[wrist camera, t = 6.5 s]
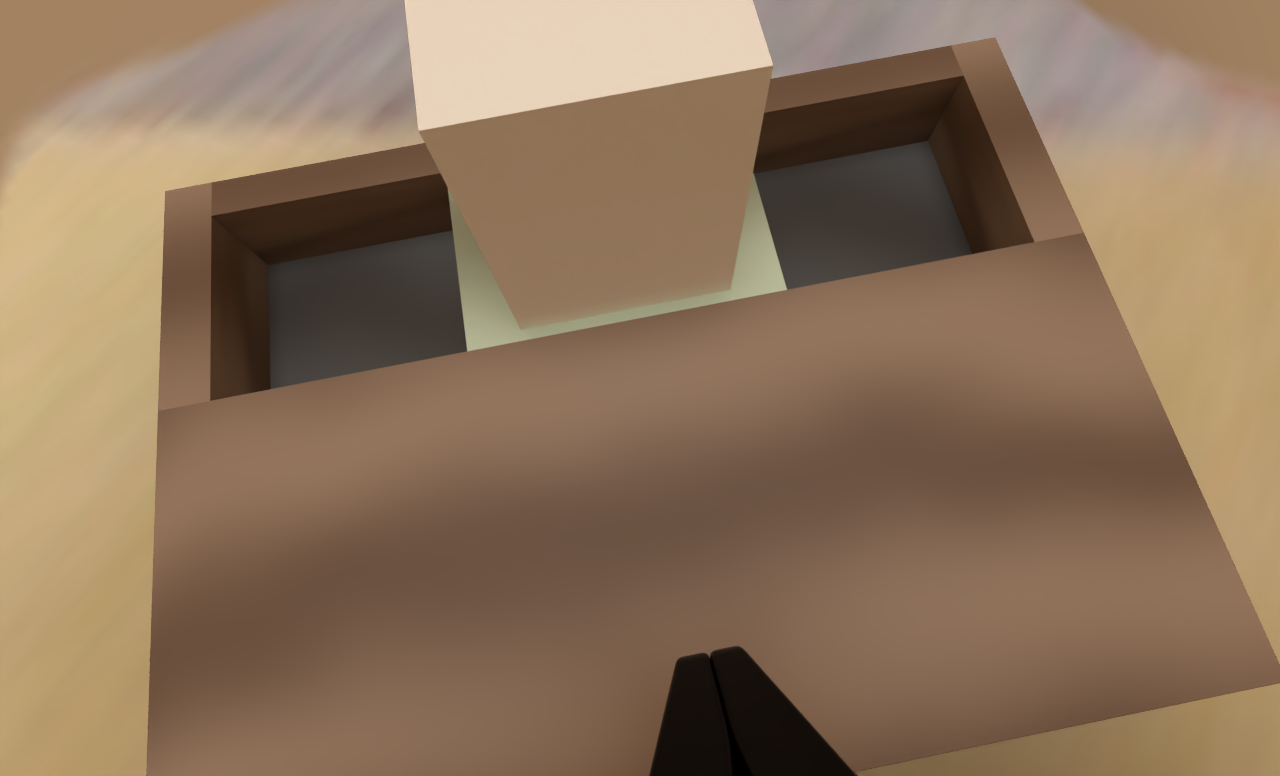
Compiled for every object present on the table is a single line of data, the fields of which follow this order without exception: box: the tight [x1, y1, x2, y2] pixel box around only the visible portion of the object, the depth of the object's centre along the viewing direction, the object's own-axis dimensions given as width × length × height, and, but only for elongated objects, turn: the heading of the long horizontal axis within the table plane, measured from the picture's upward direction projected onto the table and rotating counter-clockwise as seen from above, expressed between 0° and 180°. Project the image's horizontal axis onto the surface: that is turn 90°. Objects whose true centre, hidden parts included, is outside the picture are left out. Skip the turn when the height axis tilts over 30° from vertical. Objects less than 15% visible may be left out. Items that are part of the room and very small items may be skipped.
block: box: [405, 0, 773, 330], centre depth 14 cm, size 5×5×7 cm
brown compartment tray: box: [146, 38, 1280, 776], centre depth 17 cm, size 16×22×3 cm
